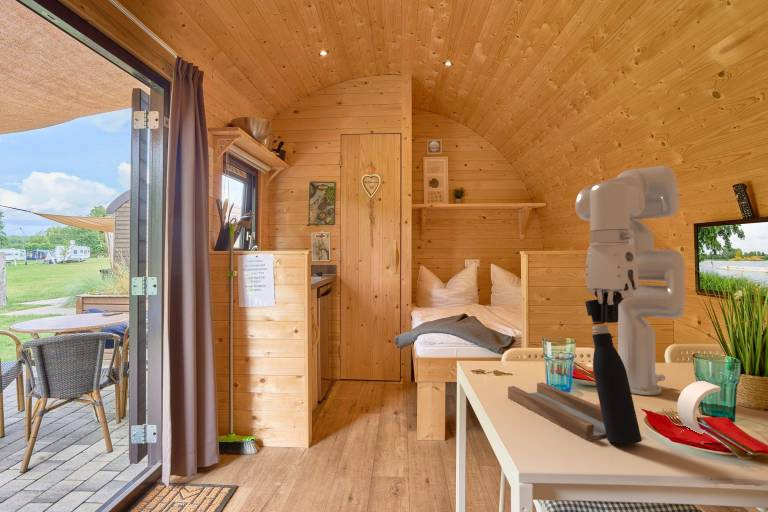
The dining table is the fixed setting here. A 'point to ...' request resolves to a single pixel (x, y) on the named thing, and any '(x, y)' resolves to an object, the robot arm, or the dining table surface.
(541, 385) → the cradle
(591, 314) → the wine bottle
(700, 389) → the white crescent arch
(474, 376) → the dining table surface
